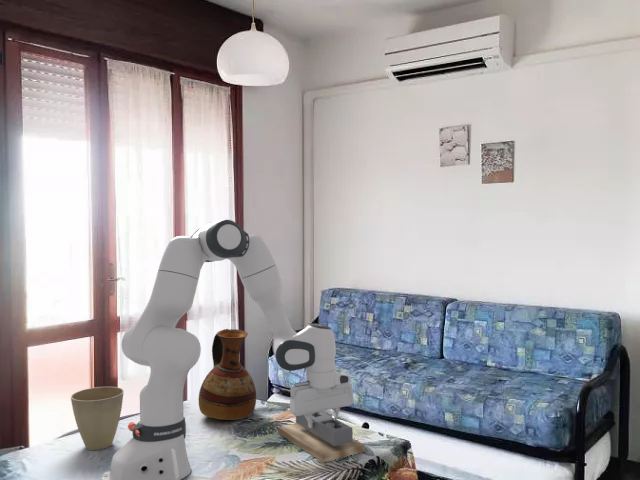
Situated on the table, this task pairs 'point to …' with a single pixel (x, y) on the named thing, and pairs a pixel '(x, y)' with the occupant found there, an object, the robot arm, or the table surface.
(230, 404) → the ceramic pitcher
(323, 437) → the block
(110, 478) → the robot arm
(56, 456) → the table surface
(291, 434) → the board
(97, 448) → the plant pot
